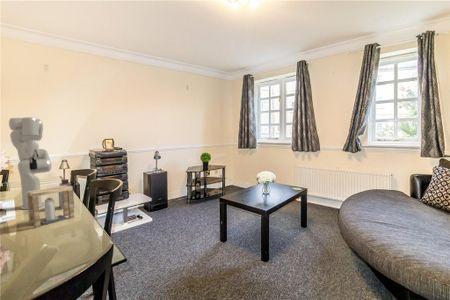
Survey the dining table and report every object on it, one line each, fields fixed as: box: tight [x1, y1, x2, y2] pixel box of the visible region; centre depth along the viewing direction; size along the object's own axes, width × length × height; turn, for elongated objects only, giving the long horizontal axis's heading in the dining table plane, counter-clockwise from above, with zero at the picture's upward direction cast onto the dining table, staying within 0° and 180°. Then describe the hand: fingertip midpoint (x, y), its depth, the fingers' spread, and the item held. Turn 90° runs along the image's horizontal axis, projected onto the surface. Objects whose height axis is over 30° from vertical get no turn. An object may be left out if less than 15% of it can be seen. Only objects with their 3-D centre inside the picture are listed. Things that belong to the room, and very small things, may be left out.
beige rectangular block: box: [57, 178, 75, 210], centre depth 157 cm, size 7×7×18 cm
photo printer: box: [44, 197, 57, 222], centre depth 132 cm, size 10×4×12 cm, turn 39°
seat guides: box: [40, 214, 67, 226], centre depth 131 cm, size 8×11×2 cm
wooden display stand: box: [27, 185, 75, 229], centre depth 130 cm, size 9×18×18 cm, turn 145°
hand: (33, 169), depth 142 cm, fingers closed
